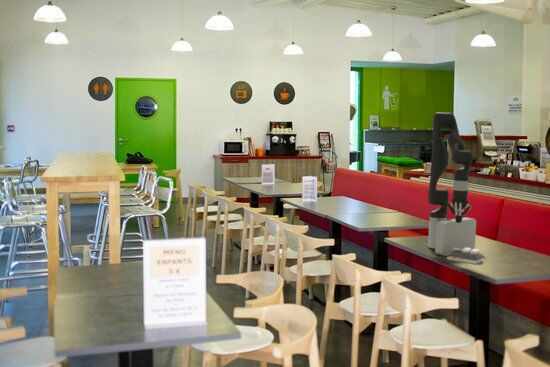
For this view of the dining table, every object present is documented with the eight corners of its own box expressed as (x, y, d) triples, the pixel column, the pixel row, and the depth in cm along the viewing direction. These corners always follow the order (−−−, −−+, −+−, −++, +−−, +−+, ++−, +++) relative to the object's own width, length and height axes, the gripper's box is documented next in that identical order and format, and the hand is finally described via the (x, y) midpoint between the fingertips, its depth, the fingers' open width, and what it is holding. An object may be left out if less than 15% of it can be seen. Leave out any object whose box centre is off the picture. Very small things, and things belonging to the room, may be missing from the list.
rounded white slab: (462, 248, 377) (464, 216, 375) (474, 250, 371) (476, 218, 369) (431, 253, 359) (432, 220, 357) (442, 256, 353) (444, 222, 351)
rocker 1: (456, 249, 351) (457, 247, 351) (462, 250, 349) (463, 248, 349) (453, 249, 347) (453, 247, 347) (459, 250, 345) (459, 248, 345)
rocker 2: (465, 249, 349) (465, 247, 348) (471, 250, 347) (471, 247, 346) (461, 252, 345) (461, 250, 345) (467, 253, 343) (467, 251, 343)
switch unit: (454, 256, 353) (455, 249, 353) (482, 260, 344) (483, 254, 344) (446, 259, 346) (447, 252, 345) (475, 264, 337) (475, 257, 336)
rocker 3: (473, 250, 346) (473, 248, 346) (479, 251, 344) (479, 249, 344) (470, 253, 342) (470, 251, 342) (476, 254, 340) (476, 252, 340)
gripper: (475, 190, 343) (473, 223, 345) (451, 187, 351) (449, 220, 353) (470, 191, 337) (468, 225, 339) (445, 188, 345) (443, 221, 347)
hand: (458, 222), depth 346 cm, fingers closed
